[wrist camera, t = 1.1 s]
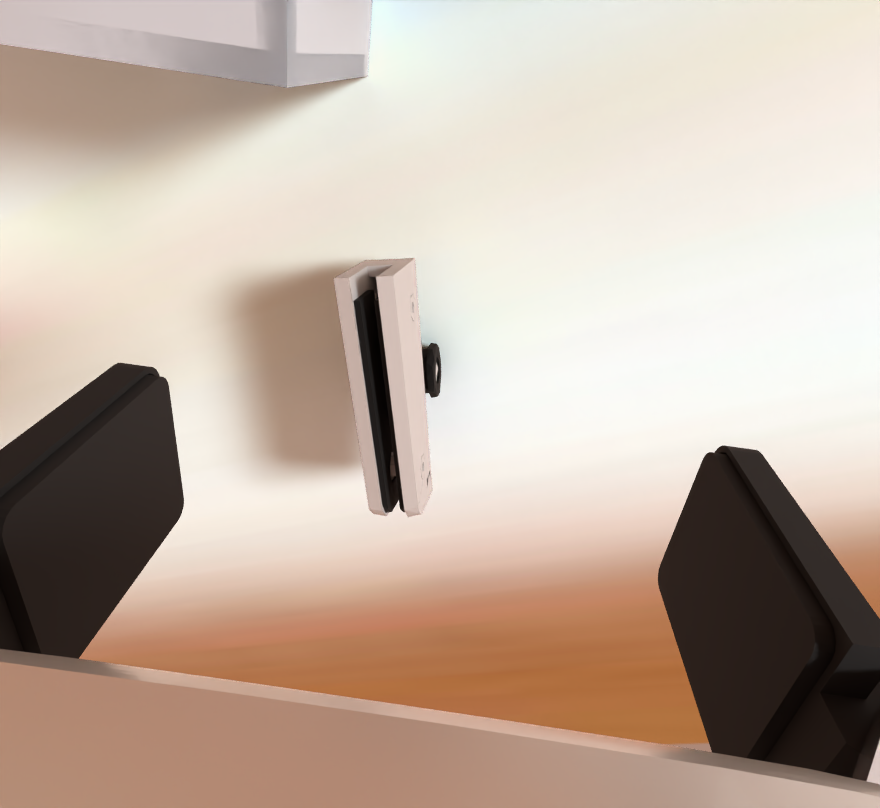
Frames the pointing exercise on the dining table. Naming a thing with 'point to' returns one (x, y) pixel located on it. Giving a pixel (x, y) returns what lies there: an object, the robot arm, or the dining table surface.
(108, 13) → the cabinet
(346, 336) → the grey plank with wheel
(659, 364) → the dining table surface
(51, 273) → the dining table surface
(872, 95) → the dining table surface
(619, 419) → the dining table surface
